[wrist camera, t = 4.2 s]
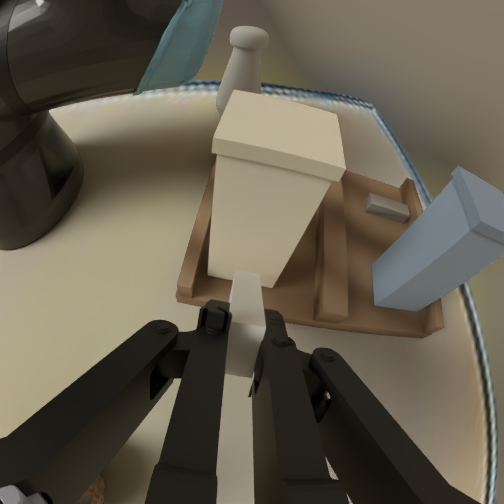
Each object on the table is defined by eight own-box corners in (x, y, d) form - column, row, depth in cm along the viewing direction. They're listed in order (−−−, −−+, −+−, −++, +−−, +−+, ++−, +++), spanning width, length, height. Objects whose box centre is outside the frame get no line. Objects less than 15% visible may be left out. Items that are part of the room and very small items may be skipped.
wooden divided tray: (422, 338, 23) (445, 327, 20) (177, 301, 22) (173, 284, 19) (401, 198, 33) (415, 181, 30) (221, 151, 31) (224, 127, 28)
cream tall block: (274, 290, 22) (345, 168, 11) (204, 277, 21) (212, 137, 10) (279, 242, 24) (337, 114, 13) (215, 229, 24) (233, 89, 13)
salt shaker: (250, 104, 37) (267, 24, 26) (263, 127, 35) (285, 37, 24) (209, 106, 35) (219, 21, 24) (219, 129, 33) (232, 34, 22)
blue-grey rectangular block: (418, 313, 23) (523, 242, 12) (372, 307, 22) (481, 221, 11) (413, 272, 25) (502, 192, 14) (369, 262, 25) (457, 165, 14)
